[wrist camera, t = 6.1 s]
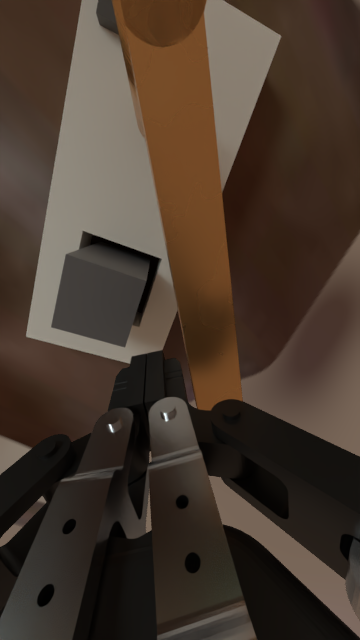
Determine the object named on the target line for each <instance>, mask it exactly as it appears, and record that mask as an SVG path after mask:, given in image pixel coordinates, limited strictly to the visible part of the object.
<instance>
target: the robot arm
mask: <svg viewBox="0 0 360 640" xmlns="http://www.w3.org/2000/svg"><path fill="white" fill-rule="evenodd" d="M149 451H151V456H152V462H150V463H149ZM208 475H209V476H216V477H221V478H222V480H223V481H224V483H225V484H226V485H227V486H229V487H230V488H231V489H232V490H233V491H235V492H236V493H237V494H239V495H240V496H241V497H242V498H244V499H245V500H246V501H247V502H249V503H250V504H251V505H252V506H254V507H255V508H256V509H257V510H259V511H260V512H261V513H262V514H264V515H265V516H266V517H267V518H269V519H270V520H271V521H272V522H274V523H275V524H276V525H277V526H279V527H280V528H281V529H282V530H284V531H285V532H286V533H287V534H289V535H290V536H291V537H292V538H294V539H295V540H296V541H297V542H299V543H300V544H301V545H302V546H304V547H305V548H306V549H307V550H309V551H310V552H311V553H312V554H314V555H315V556H316V557H317V558H319V559H320V560H321V561H322V562H324V563H325V564H326V565H327V566H329V567H330V568H331V569H333V570H334V571H335V572H336V573H337V574H339V575H340V576H341V577H342V578H344V579H345V580H346V583H345V584H346V591H347V595H348V598H349V601H350V604H351V606H352V608H353V610H354V612H355V614H356V615H357V617H358V619H359V620H360V457H359V456H357V455H355V454H353V453H351V452H349V451H346V450H344V449H342V448H340V447H338V446H336V445H334V444H332V443H330V442H327V441H325V440H323V439H321V438H319V437H317V436H315V435H313V434H311V433H308V432H306V431H304V430H302V429H300V428H298V427H296V426H294V425H291V424H289V423H287V422H285V421H283V420H281V419H279V418H277V417H275V416H273V415H270V414H268V413H266V412H264V411H262V410H260V409H258V408H256V407H254V406H251V405H249V404H247V403H245V402H243V401H240V400H236V399H227V400H223V401H220V402H218V403H217V404H215V405H214V406H213V408H212V409H211V411H210V410H200V409H196V408H194V407H192V406H191V405H190V404H189V403H188V400H187V394H186V389H185V384H184V379H183V375H182V370H181V365H180V362H179V361H178V360H176V359H175V358H171V359H167V360H165V358H164V354H163V350H160V351H155V352H150V353H146V354H141V355H136V356H132V357H131V362H130V367H128V368H123V369H122V370H121V371H120V372H119V374H118V375H117V376H116V380H115V385H114V388H113V392H112V396H111V400H110V404H109V408H108V412H106V413H105V414H103V415H102V416H101V417H100V418H99V419H98V420H97V422H96V423H95V426H94V428H93V431H92V433H90V434H88V435H86V436H84V437H82V438H80V439H77V440H75V441H73V442H71V441H70V439H69V437H68V436H66V435H63V434H58V435H53V436H51V437H48V438H46V439H44V440H43V441H41V442H40V443H38V444H37V445H36V446H35V447H33V448H32V449H31V450H30V451H29V452H28V453H26V454H25V455H24V456H23V457H21V458H20V459H19V460H18V461H16V462H15V463H14V464H13V465H12V466H11V467H9V468H8V469H7V470H6V471H4V472H3V473H2V474H1V475H0V538H1V537H2V535H3V534H4V533H5V532H6V531H7V530H8V529H9V528H10V527H11V526H12V525H13V524H14V523H15V522H16V521H17V520H18V519H19V518H20V517H21V516H22V515H23V514H24V513H25V512H26V511H27V510H28V509H29V508H30V507H31V506H32V505H33V504H34V503H35V502H36V501H37V500H38V499H39V498H40V497H41V496H43V497H44V499H45V500H46V502H47V503H46V504H45V505H44V506H43V507H42V508H41V509H40V510H39V511H38V512H37V513H36V514H35V515H34V516H33V517H32V518H31V519H30V520H29V521H28V522H27V523H26V524H25V525H24V527H23V528H22V529H21V530H20V531H19V532H18V533H17V534H16V535H15V536H14V537H13V538H12V539H11V540H10V541H9V542H8V543H7V544H5V545H3V546H2V547H0V640H360V638H359V637H358V636H357V635H356V634H355V633H354V632H353V631H352V630H351V629H350V628H349V627H348V626H347V625H346V624H345V623H344V622H342V621H341V620H340V619H339V618H338V617H337V616H336V615H335V614H334V613H333V612H332V611H331V610H330V609H329V608H328V607H327V606H326V605H325V604H323V602H321V601H320V600H319V599H318V598H317V597H316V596H315V595H314V594H313V593H312V592H311V591H310V590H309V589H308V588H307V587H306V586H305V585H304V584H303V583H302V582H301V581H300V580H298V579H297V578H296V577H295V576H294V575H293V574H292V573H291V572H290V571H289V570H288V569H287V568H286V567H285V566H284V565H283V564H282V563H281V562H280V561H279V560H277V559H276V558H275V557H274V556H273V555H272V554H271V553H270V552H269V551H268V550H267V549H266V548H265V547H264V546H263V545H261V544H260V543H259V542H258V541H257V540H255V539H254V538H252V537H251V536H250V535H248V534H246V533H244V532H242V531H241V530H238V529H236V528H233V527H230V526H227V525H223V524H222V522H221V518H220V515H219V511H218V508H217V504H216V501H215V497H214V494H213V490H212V487H211V484H210V480H209V477H208ZM149 489H150V506H151V507H150V508H151V526H152V530H151V531H150V532H148V533H146V517H147V506H148V495H149Z"/></svg>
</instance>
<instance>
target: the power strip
mask: <svg viewBox="0 0 360 640" xmlns="http://www.w3.org/2000/svg"><path fill="white" fill-rule="evenodd" d="M204 18H205V28H206V38H207V48H208V58H209V68H210V78H211V88H212V98H213V108H214V118H215V128H216V138H217V148H218V159H219V169H220V179H221V189H222V191H223V189H224V186H225V184H226V181H227V178H228V176H229V173H230V170H231V168H232V165H233V162H234V160H235V157H236V154H237V152H238V149H239V147H240V144H241V141H242V139H243V136H244V133H245V131H246V128H247V125H248V123H249V120H250V118H251V115H252V112H253V110H254V107H255V104H256V102H257V99H258V96H259V94H260V91H261V89H262V86H263V83H264V81H265V78H266V75H267V73H268V70H269V67H270V65H271V62H272V59H273V57H274V54H275V52H276V49H277V46H278V44H279V41H280V38H281V35H279V34H277V33H276V32H274V31H272V30H271V29H269V28H267V27H266V26H264V25H263V24H261V23H259V22H258V21H256V20H254V19H253V18H251V17H249V16H248V15H246V14H245V13H243V12H241V11H240V10H238V9H236V8H235V7H233V6H232V5H230V4H228V3H227V2H225V1H223V0H207V1H206V5H205V10H204ZM92 235H96V236H99V237H102V238H105V239H107V240H110V241H113V242H116V243H119V244H121V245H124V246H127V247H130V248H133V249H135V250H138V251H141V252H144V253H147V254H149V255H152V256H155V257H158V258H160V259H159V262H158V265H157V268H156V271H155V274H154V278H153V281H152V284H151V287H150V290H149V293H148V296H147V299H146V302H145V305H144V308H143V311H142V314H141V313H138V312H136V315H135V318H134V321H133V325H132V328H131V331H130V334H129V337H128V340H127V343H126V346H125V347H121V346H117V345H114V344H110V343H106V342H103V341H99V340H95V339H92V338H88V337H84V336H81V335H77V334H74V333H70V332H66V331H63V330H59V329H55V328H52V327H51V325H52V320H53V315H54V310H55V305H56V300H57V295H58V290H59V285H60V280H61V275H62V270H63V266H64V261H65V256H66V254H68V253H70V252H73V251H76V250H79V249H82V248H84V247H87V246H90V244H91V239H92ZM177 310H178V309H177V303H176V298H175V293H174V288H173V282H172V277H171V272H170V267H169V262H168V256H167V251H166V246H165V241H164V236H163V230H162V225H161V220H160V215H159V210H158V204H157V199H156V194H155V189H154V183H153V178H152V173H151V168H150V163H149V157H148V152H147V147H146V142H145V138H144V137H143V136H142V134H141V133H140V131H139V128H138V125H137V120H136V115H135V111H134V106H133V101H132V96H131V91H130V86H129V81H128V76H127V71H126V67H125V62H124V57H123V52H122V47H121V42H120V37H119V32H118V27H117V23H116V18H115V13H114V8H113V3H112V0H82V2H81V8H80V14H79V20H78V26H77V32H76V38H75V44H74V50H73V56H72V62H71V68H70V75H69V81H68V87H67V93H66V99H65V105H64V111H63V117H62V123H61V129H60V135H59V141H58V147H57V153H56V159H55V165H54V171H53V177H52V183H51V189H50V195H49V201H48V207H47V213H46V219H45V225H44V231H43V237H42V243H41V249H40V255H39V261H38V267H37V273H36V279H35V285H34V291H33V297H32V303H31V309H30V315H29V321H28V327H27V333H26V337H29V338H33V339H37V340H41V341H45V342H49V343H52V344H56V345H60V346H64V347H68V348H72V349H75V350H79V351H83V352H87V353H91V354H95V355H99V356H102V357H106V358H110V359H114V360H118V361H122V362H125V363H129V364H130V362H131V357H132V356H136V355H141V354H146V353H150V352H155V351H160V350H163V347H164V345H165V342H166V339H167V337H168V334H169V331H170V329H171V326H172V323H173V321H174V318H175V315H176V313H177Z"/></svg>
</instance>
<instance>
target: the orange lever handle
mask: <svg viewBox="0 0 360 640" xmlns="http://www.w3.org/2000/svg"><path fill="white" fill-rule="evenodd" d="M206 1H207V0H112V3H113V8H114V13H115V18H116V23H117V27H118V32H119V37H120V42H121V47H122V52H123V57H124V62H125V67H126V71H127V76H128V81H129V86H130V91H131V96H132V101H133V106H134V111H135V115H136V120H137V125H138V128H139V131H140V133H141V134H142V136H143V137H144V138H145V142H146V147H147V152H148V157H149V163H150V168H151V173H152V178H153V183H154V189H155V194H156V199H157V204H158V210H159V215H160V220H161V225H162V230H163V236H164V241H165V246H166V251H167V256H168V262H169V267H170V272H171V277H172V282H173V288H174V293H175V298H176V303H177V309H178V314H179V319H180V324H181V329H182V335H183V340H184V345H185V350H186V355H187V361H188V366H189V371H190V376H191V381H192V387H193V392H194V397H195V401H196V406H197V409H200V410H210V411H211V409H212V408H213V406H214V405H215V404H217V403H218V402H220V401H223V400H227V399H236V400H240V401H243V400H242V390H241V379H240V369H239V359H238V349H237V339H236V329H235V319H234V309H233V299H232V289H231V279H230V269H229V259H228V249H227V239H226V229H225V219H224V209H223V199H222V189H221V179H220V169H219V159H218V148H217V138H216V128H215V118H214V108H213V98H212V88H211V78H210V68H209V58H208V48H207V38H206V28H205V18H204V10H205V5H206Z"/></svg>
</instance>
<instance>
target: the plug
mask: <svg viewBox="0 0 360 640" xmlns="http://www.w3.org/2000/svg"><path fill="white" fill-rule="evenodd" d="M149 264H150V259H149V258H146V257H143V256H140V255H137V254H134V253H132V252H129V251H126V250H123V249H120V248H118V247H115V246H112V245H109V244H106V243H103V242H98V243H96V244H93V245H90V246H87V247H84V248H82V249H79V250H76V251H73V252H70V253H68V254H66V256H65V261H64V266H63V270H62V275H61V280H60V285H59V290H58V295H57V300H56V305H55V310H54V315H53V320H52V325H51V327H52V328H55V329H59V330H63V331H66V332H70V333H74V334H77V335H81V336H84V337H88V338H92V339H95V340H99V341H103V342H106V343H110V344H114V345H117V346H121V347H125V346H126V343H127V340H128V337H129V334H130V331H131V328H132V325H133V321H134V318H135V315H136V312H137V309H138V306H139V303H140V300H141V297H142V293H143V290H144V287H145V284H146V281H147V275H148V270H149Z"/></svg>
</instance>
